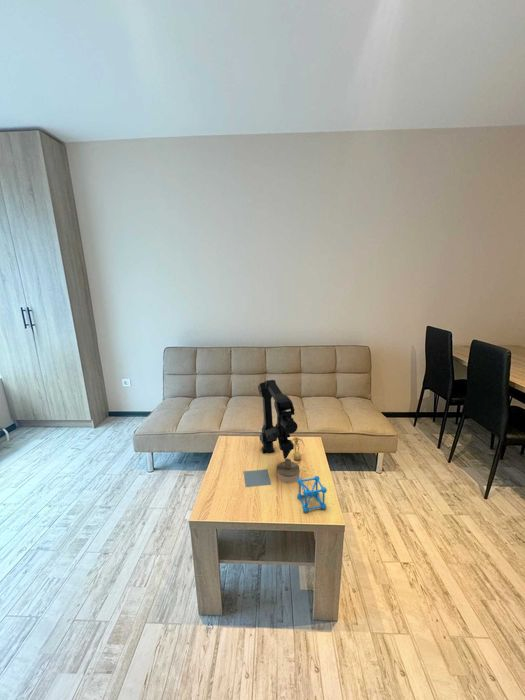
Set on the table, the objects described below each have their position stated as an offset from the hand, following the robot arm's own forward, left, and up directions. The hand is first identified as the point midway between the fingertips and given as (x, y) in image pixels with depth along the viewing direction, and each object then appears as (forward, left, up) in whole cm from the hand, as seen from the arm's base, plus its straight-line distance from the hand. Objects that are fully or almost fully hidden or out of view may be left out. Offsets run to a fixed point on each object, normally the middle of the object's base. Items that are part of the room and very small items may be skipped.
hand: (283, 453), depth 145 cm
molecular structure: (+21, +8, -12) cm, 26 cm away
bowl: (+2, +2, -12) cm, 12 cm away
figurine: (-13, +10, -12) cm, 20 cm away
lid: (+2, +2, -8) cm, 8 cm away
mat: (+1, -13, -12) cm, 17 cm away
